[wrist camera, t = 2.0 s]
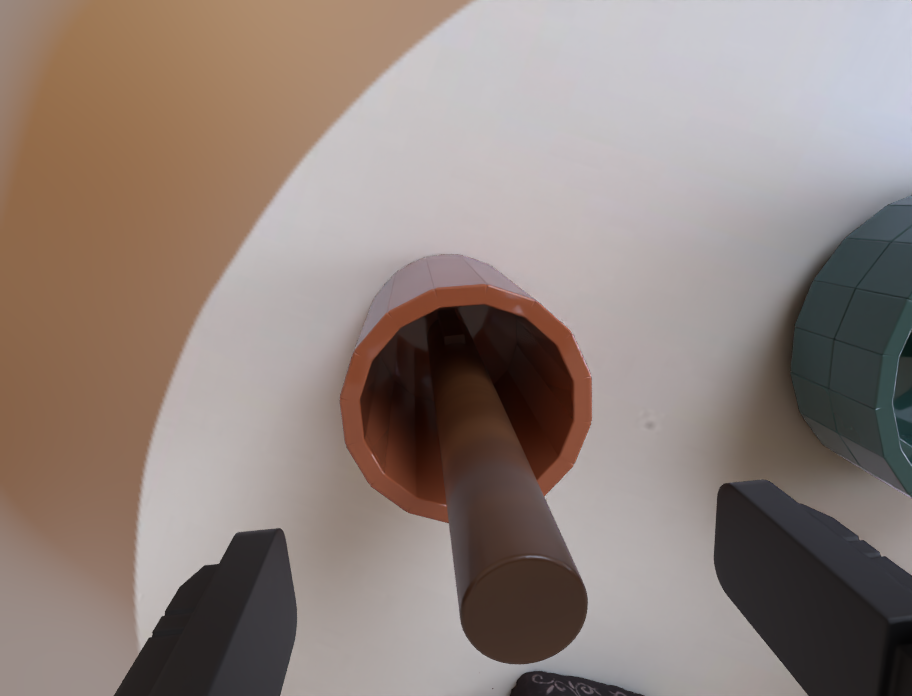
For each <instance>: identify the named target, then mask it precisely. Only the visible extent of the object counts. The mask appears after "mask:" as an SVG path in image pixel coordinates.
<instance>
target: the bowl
mask: <svg viewBox="0 0 912 696" xmlns="http://www.w3.org/2000/svg"><path fill="white" fill-rule="evenodd" d="M790 374H791V378H792V382H793V386H794V390H795V394H796V399H797V403H798V407H799V411H800V412H801V415H802V416H803V417H804V419H805V420H806V422H807V423H808V425H809V426H810V428H811V429H812V430H813V432H814V433H815V435H816V436H817V438H818V439H819V440H820V442H821V443H822V444H823V445H824V446H826V447H827V448H829V449H830V450H832V451H833V452H835V453H836V454H838V455H839V456H841V457H842V458H844V459H846V460H847V461H849V462H850V463H852V464H853V465H855V466H857V467H858V468H860V469H862V470H863V471H865V472H867V473H869V474H870V475H872V476H874V477H875V478H877V479H879V480H880V481H882V482H884V483H885V484H887V485H889V486H891V487H892V488H894V489H896V490H897V491H899V492H901V493H902V494H904V495H906V496H907V497H909V498H911V499H912V195H911V196H908V197H906V198H903V199H901V200H898V201H896V202H893V203H891V204H889V205H887V206H885V207H884V208H883V209H882V210H880V211H879V212H878V213H876V214H875V215H874V216H873V217H871V218H870V219H869V220H867V221H866V222H865V223H864V224H862V225H861V226H860V227H859V228H857V229H856V230H855V231H853V232H852V233H851V234H850V235H848V236H847V237H846V239H844V240H843V241H842V242H841V244H840V245H839V246H838V248H837V249H836V250H835V252H834V253H833V254H832V256H831V257H830V258H829V260H828V261H827V262H826V264H825V265H824V266H823V268H822V269H821V270H820V272H819V273H818V274H817V276H816V277H815V278H814V281H812V284H811V286H810V289H809V291H808V294H807V296H806V299H805V301H804V304H803V306H802V309H801V311H800V314H799V316H798V319H797V321H796V324H795V328H794V339H793V350H792V360H791V372H790Z"/></svg>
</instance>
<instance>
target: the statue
mask: <svg viewBox="0 0 912 696" xmlns="http://www.w3.org/2000/svg"><path fill="white" fill-rule="evenodd" d="M492 689H493V688H492ZM510 696H644V695H641V694H636V693H633V692H630V691H626V690H624V689H622V688H619V687H617V686H613V685H606V684H603V683H598V682H595V681H591V680H588V679H584V678H579V677H573V676H562V675H559V674H555V673H547V672H543V671H534V672H528V673H525V674H523V675H522V676H521V677H520V678H519V679H518V680H517V685H516V687H515V688H514V689H512V691H511V694H510Z"/></svg>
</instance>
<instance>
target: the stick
mask: <svg viewBox="0 0 912 696" xmlns="http://www.w3.org/2000/svg"><path fill="white" fill-rule="evenodd" d="M427 344H428V352H429V361H430V369H431V378H432V386H433V394H434V403H435V411H436V420H437V428H438V436H439V445H440V453H441V461H442V470H443V478H444V487H445V495H446V503H447V512H448V520H449V529H450V537H451V545H452V554H453V562H454V571H455V579H456V587H457V596H458V604H459V612H460V620H461V625H462V628H463V631H464V633H465V635H466V637H467V638H468V640H469V641H470V642H471V644H472V645H473V646H474V647H475V648H476V649H477V650H478V651H480V652H481V653H482V654H484V655H485V656H487V657H489V658H491V659H493V660H496V661H499V662H503V663H508V664H529V663H535V662H538V661H542V660H545V659H547V658H550V657H552V656H554V655H555V654H557V653H559V652H560V651H562V650H563V649H564V648H566V647H567V646H568V645H569V644H570V643H571V642H572V641H573V640H574V639H575V638H576V636H577V635H578V633H579V632H580V630H581V628H582V626H583V624H584V621H585V618H586V614H587V606H588V598H587V592H586V588H585V586H584V583H583V581H582V579H581V576H580V574H579V572H578V570H577V568H576V565H575V563H574V561H573V559H572V557H571V554H570V552H569V550H568V548H567V546H566V543H565V541H564V539H563V537H562V535H561V532H560V530H559V528H558V526H557V524H556V521H555V519H554V517H553V515H552V513H551V510H550V508H549V506H548V504H547V502H546V499H545V497H544V495H543V493H542V491H541V488H540V486H539V484H538V482H537V480H536V477H535V475H534V473H533V471H532V469H531V466H530V464H529V462H528V460H527V458H526V455H525V453H524V451H523V449H522V447H521V444H520V442H519V440H518V438H517V436H516V433H515V431H514V429H513V427H512V425H511V422H510V420H509V418H508V416H507V414H506V411H505V409H504V407H503V405H502V403H501V400H500V398H499V396H498V394H497V392H496V389H495V387H494V385H493V383H492V381H491V378H490V376H489V374H488V372H487V370H486V367H485V365H484V363H483V361H482V359H481V356H480V354H479V352H478V350H477V348H476V345H475V343H474V341H473V339H472V337H471V334H470V332H469V330H468V328H467V326H466V325H465V324H464V323H463V322H462V321H461V320H459V319H458V316H457V314H456V312H455V310H442V311H438V320H436V321H435V322H434V323H433V324H432V325H431V326H430V328H429V330H428V333H427Z"/></svg>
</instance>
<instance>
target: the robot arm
mask: <svg viewBox="0 0 912 696" xmlns="http://www.w3.org/2000/svg"><path fill="white" fill-rule="evenodd" d="M714 564H715V570H716V574H717V577H718V580H719V582H720V584H721V586H722V588H723V590H724V592H725V593H726V594H727V596H728V597H729V598H730V599H731V601H732V602H733V603H734V604H735V605H736V607H737V608H738V609H739V610H740V612H741V613H742V614H743V615H744V617H745V618H746V619H747V620H748V622H749V623H750V624H751V625H752V626H753V628H754V629H755V630H756V631H757V633H758V634H759V635H760V636H761V638H762V639H763V640H764V641H765V642H766V644H767V645H768V646H769V647H770V649H771V650H772V651H773V652H774V654H775V655H776V656H777V657H778V658H779V660H780V661H781V662H782V663H783V665H784V666H785V667H786V668H787V670H788V671H789V672H790V673H791V674H792V676H793V677H794V678H795V679H796V681H797V682H798V683H799V684H800V686H801V687H802V688H803V689H804V690H805V692H806V693H807V694H808V695H809V696H912V576H911V575H910V574H909V573H907V572H906V571H905V570H903V569H902V568H900V567H899V566H898V565H896V564H895V563H894V562H892V561H891V560H890V559H888V558H887V557H886V556H883V557H881V555H880V552H879V551H877V550H876V549H875V548H873V547H872V546H871V545H869V544H868V543H867V542H865V541H864V540H861V541H860V540H859V538H858V536H857V535H856V534H854V533H853V532H852V531H850V530H849V529H848V528H846V527H845V526H844V525H842V524H841V523H840V522H838V521H837V520H835V519H834V518H832V517H830V516H828V515H826V514H823V513H821V512H819V511H817V510H815V509H812V508H810V507H808V506H806V505H803V504H799V503H797V502H796V501H795V500H794V499H792V498H791V497H790V496H788V495H787V494H786V493H784V492H783V491H782V490H781V489H779V488H778V487H777V486H775V485H774V484H773V483H771V482H770V481H768V480H753V481H744V482H734V483H725V484H723V485H722V486H721V487H720V489H719V491H718V496H717V511H716V528H715V546H714ZM296 627H297V607H296V598H295V592H294V586H293V580H292V574H291V568H290V562H289V556H288V550H287V544H286V539H285V535H284V532H283V530H282V529H281V528H276V529H267V530H257V531H247V532H238V533H236V534H235V536H234V537H233V539H232V541H231V543H230V544H229V546H228V548H227V550H226V552H225V554H224V556H223V557H222V559H221V561H220V563H219V564H215V565H205V566H203V567H202V568H201V569H200V570H199V571H198V572H197V573H195V574H194V575H193V576H192V577H191V578H190V579H189V580H187V581H186V582H185V583H184V584H183V585H182V586H180V588H179V589H178V591H177V592H176V594H175V596H174V597H173V599H172V601H171V602H170V604H169V606H168V607H167V609H166V611H165V616H162V617H161V619H160V620H159V622H158V624H157V625H156V627H155V629H154V630H153V632H152V633H153V635H152V637H150V638H149V639H148V640H147V642H146V644H145V645H144V647H143V648H142V650H141V652H140V653H139V655H138V657H137V658H136V660H135V662H134V663H133V665H132V667H131V668H130V670H129V672H128V673H127V675H126V676H125V678H124V680H123V681H122V683H121V685H120V686H119V688H118V690H117V691H116V693H115V695H114V696H280V694H281V690H282V686H283V683H284V679H285V675H286V671H287V668H288V664H289V660H290V656H291V653H292V649H293V645H294V641H295V636H296Z"/></svg>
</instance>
